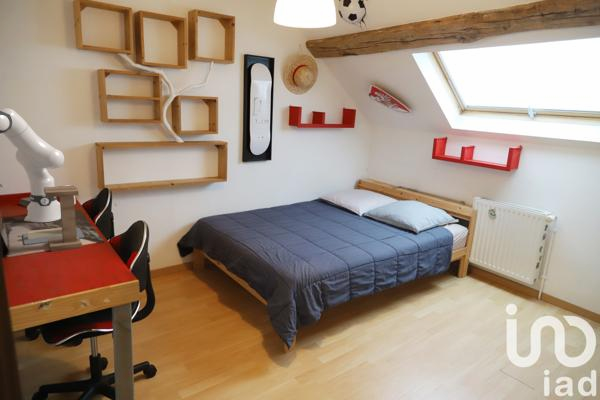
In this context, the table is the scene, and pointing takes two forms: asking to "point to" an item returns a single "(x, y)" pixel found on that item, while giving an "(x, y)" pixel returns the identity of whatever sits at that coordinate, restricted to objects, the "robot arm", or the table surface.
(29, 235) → the ash bar
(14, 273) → the table surface
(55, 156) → the robot arm
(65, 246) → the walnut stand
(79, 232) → the rubber mat
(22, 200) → the marble piece
